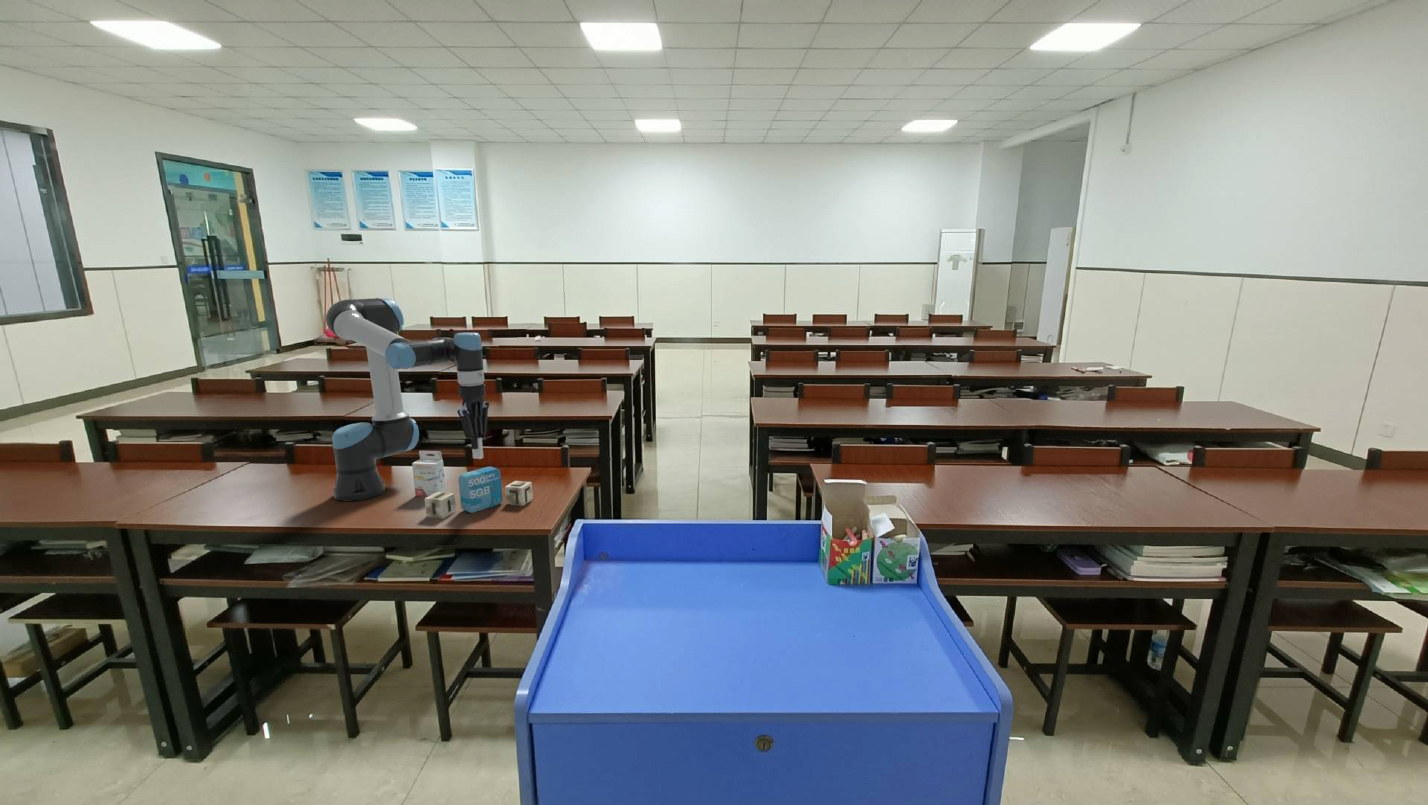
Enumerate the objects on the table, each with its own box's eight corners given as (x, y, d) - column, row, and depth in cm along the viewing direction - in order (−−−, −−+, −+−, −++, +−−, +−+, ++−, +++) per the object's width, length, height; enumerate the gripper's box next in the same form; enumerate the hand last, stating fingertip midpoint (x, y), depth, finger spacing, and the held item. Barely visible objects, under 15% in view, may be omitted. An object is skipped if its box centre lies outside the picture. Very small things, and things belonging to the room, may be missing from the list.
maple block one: (426, 517, 189) (424, 498, 188) (439, 509, 195) (437, 491, 194) (443, 519, 188) (441, 499, 187) (456, 511, 194) (454, 492, 192)
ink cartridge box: (414, 496, 207) (409, 454, 204) (422, 491, 211) (418, 450, 208) (439, 497, 206) (434, 455, 203) (446, 492, 211) (442, 450, 208)
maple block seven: (506, 504, 199) (504, 486, 198) (516, 498, 205) (515, 480, 204) (523, 506, 198) (521, 487, 196) (533, 499, 204) (532, 481, 202)
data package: (468, 514, 191) (465, 477, 189) (461, 511, 194) (457, 474, 191) (503, 503, 200) (500, 467, 198) (495, 500, 203) (492, 465, 200)
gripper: (469, 388, 182) (476, 465, 187) (495, 380, 194) (500, 453, 199) (447, 387, 184) (454, 463, 188) (474, 379, 196) (480, 451, 201)
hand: (478, 458), depth 194 cm, fingers closed
